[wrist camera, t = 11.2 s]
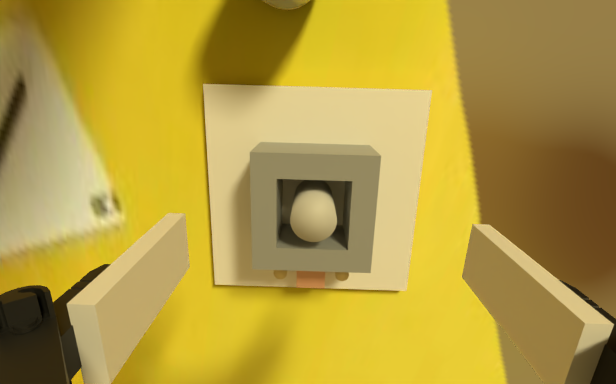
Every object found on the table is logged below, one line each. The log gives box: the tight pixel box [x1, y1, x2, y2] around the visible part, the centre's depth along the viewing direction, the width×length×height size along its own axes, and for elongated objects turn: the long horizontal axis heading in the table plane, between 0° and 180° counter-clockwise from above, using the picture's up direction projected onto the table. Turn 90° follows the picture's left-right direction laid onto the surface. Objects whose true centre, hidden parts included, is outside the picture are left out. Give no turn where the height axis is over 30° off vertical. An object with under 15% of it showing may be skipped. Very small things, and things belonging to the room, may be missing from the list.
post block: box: [203, 84, 432, 291], centre depth 33 cm, size 22×22×8 cm
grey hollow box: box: [250, 142, 381, 288], centre depth 33 cm, size 15×11×6 cm
